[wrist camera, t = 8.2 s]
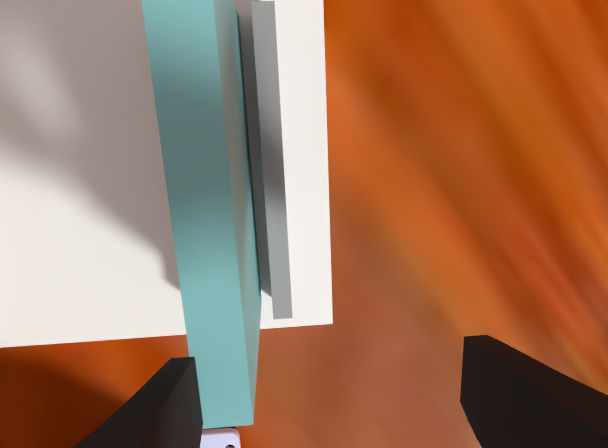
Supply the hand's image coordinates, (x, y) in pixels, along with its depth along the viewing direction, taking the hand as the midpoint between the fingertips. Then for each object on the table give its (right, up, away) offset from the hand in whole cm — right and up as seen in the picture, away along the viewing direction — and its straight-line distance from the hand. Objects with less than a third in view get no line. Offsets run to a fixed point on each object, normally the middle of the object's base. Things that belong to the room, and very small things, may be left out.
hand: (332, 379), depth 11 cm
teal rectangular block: (-4, +6, +7) cm, 10 cm away
